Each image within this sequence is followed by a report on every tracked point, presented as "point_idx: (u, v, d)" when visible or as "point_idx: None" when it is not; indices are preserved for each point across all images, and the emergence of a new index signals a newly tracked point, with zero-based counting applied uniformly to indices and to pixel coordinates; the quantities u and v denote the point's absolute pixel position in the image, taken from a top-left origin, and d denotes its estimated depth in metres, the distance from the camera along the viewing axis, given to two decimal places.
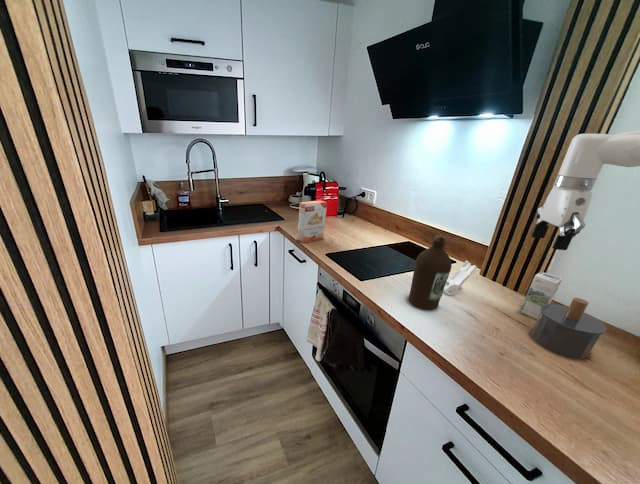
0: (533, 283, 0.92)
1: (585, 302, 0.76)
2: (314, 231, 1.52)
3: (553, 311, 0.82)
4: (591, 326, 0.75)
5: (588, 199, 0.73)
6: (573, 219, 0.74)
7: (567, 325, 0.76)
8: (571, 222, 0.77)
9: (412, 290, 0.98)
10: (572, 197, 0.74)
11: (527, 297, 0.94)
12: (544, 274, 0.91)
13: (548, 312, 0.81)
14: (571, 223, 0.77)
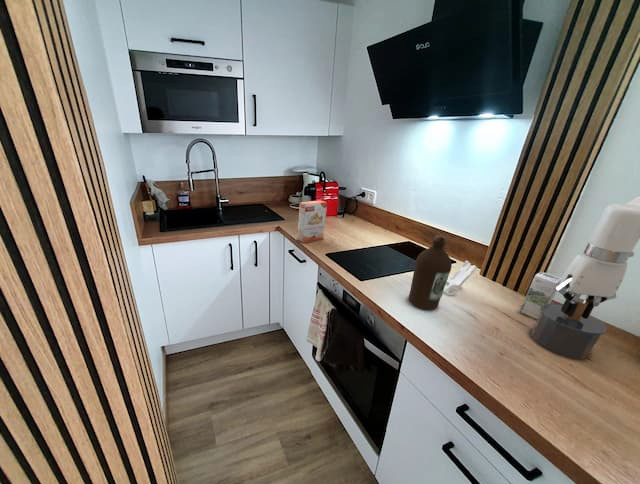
0: (533, 283, 0.92)
1: (585, 302, 0.76)
2: (314, 231, 1.52)
3: (553, 311, 0.82)
4: (591, 326, 0.75)
5: None
6: None
7: (567, 325, 0.76)
8: None
9: (412, 290, 0.98)
10: None
11: (527, 297, 0.94)
12: (544, 274, 0.91)
13: (548, 312, 0.81)
14: None
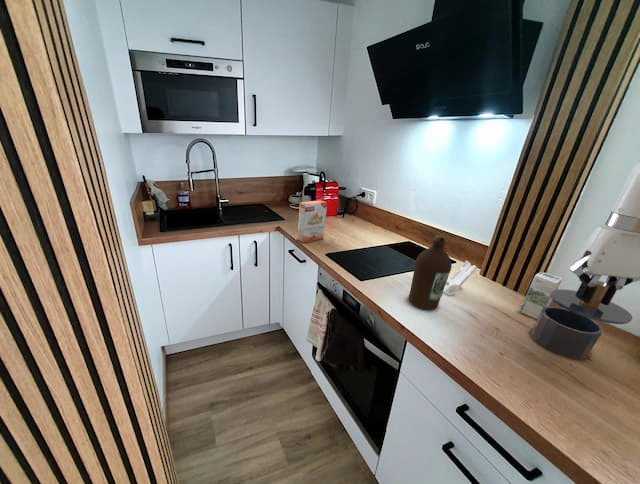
0: (533, 283, 0.92)
1: (606, 285, 0.63)
2: (314, 231, 1.52)
3: (566, 297, 0.68)
4: (613, 314, 0.62)
5: None
6: None
7: (584, 312, 0.62)
8: None
9: (412, 290, 0.98)
10: None
11: (527, 297, 0.94)
12: (544, 274, 0.91)
13: (560, 298, 0.68)
14: None
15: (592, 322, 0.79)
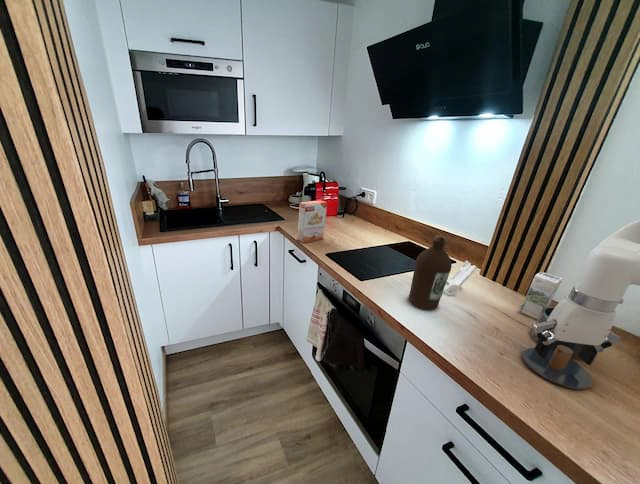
0: (533, 283, 0.92)
1: (570, 351, 0.70)
2: (314, 231, 1.52)
3: (536, 357, 0.75)
4: (576, 378, 0.69)
5: None
6: (608, 334, 0.67)
7: (550, 377, 0.69)
8: None
9: (412, 290, 0.98)
10: None
11: (527, 297, 0.94)
12: (544, 274, 0.91)
13: (531, 359, 0.75)
14: None
15: None
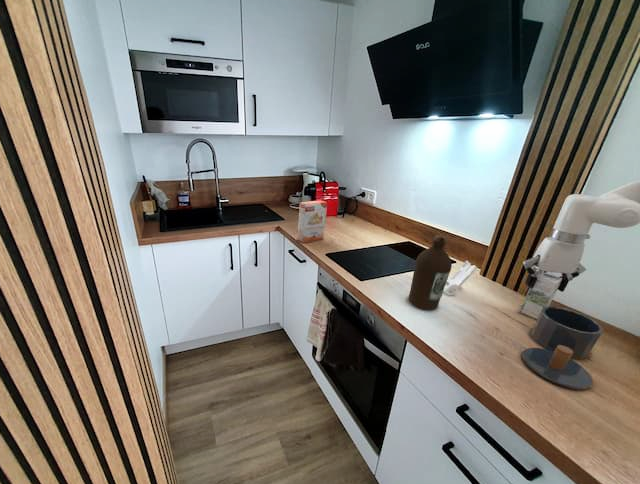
0: None
1: (570, 351, 0.70)
2: (314, 231, 1.52)
3: (536, 357, 0.75)
4: (576, 378, 0.69)
5: None
6: (578, 266, 0.87)
7: (550, 377, 0.69)
8: None
9: (412, 290, 0.98)
10: (583, 249, 0.84)
11: (527, 297, 0.94)
12: (544, 274, 0.91)
13: (531, 359, 0.75)
14: None
15: (592, 322, 0.79)
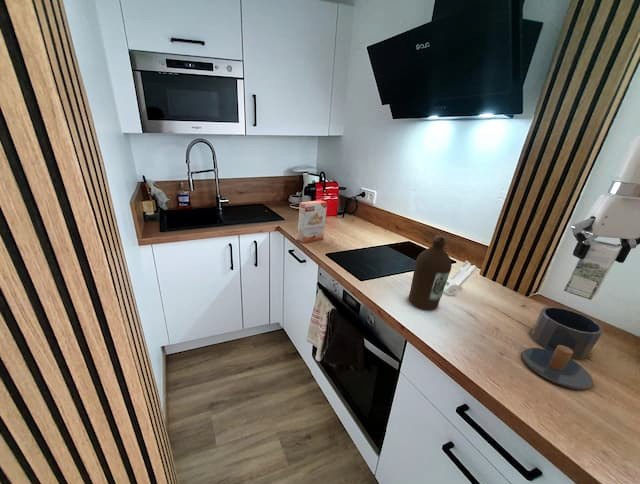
0: None
1: (570, 351, 0.70)
2: (314, 231, 1.52)
3: (536, 357, 0.75)
4: (576, 378, 0.69)
5: None
6: None
7: (550, 377, 0.69)
8: None
9: (412, 290, 0.98)
10: None
11: (575, 271, 0.76)
12: (598, 242, 0.73)
13: (531, 359, 0.75)
14: None
15: (592, 322, 0.79)
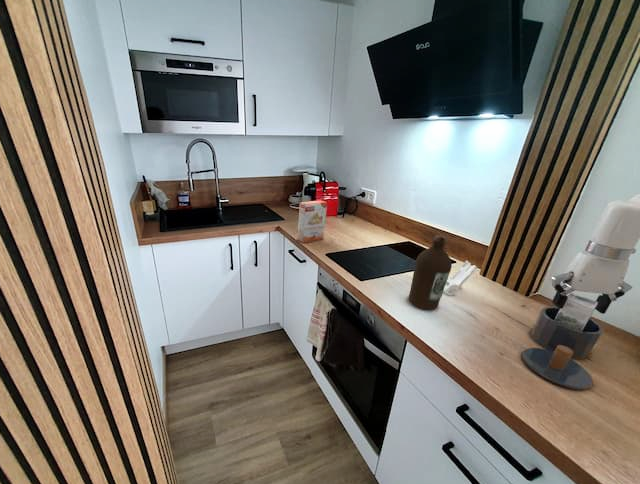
0: (563, 307, 0.78)
1: (570, 351, 0.70)
2: (314, 231, 1.52)
3: (536, 357, 0.75)
4: (576, 378, 0.69)
5: None
6: (621, 283, 0.73)
7: (550, 377, 0.69)
8: None
9: (412, 290, 0.98)
10: None
11: None
12: (576, 297, 0.78)
13: (531, 359, 0.75)
14: None
15: (592, 322, 0.79)
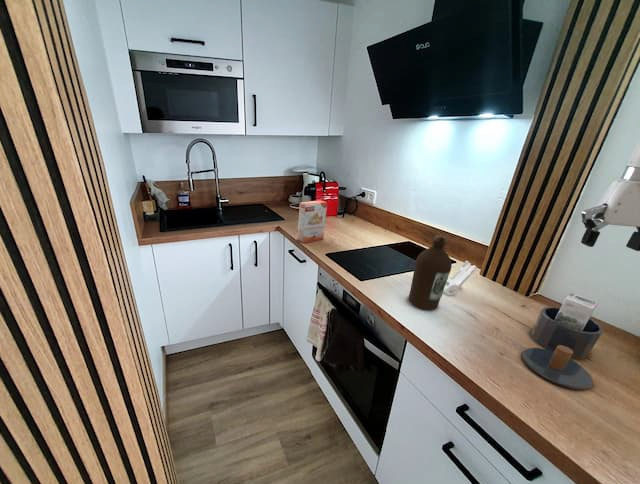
0: (563, 307, 0.78)
1: (570, 351, 0.70)
2: (314, 231, 1.52)
3: (536, 357, 0.75)
4: (576, 378, 0.69)
5: None
6: None
7: (550, 377, 0.69)
8: None
9: (412, 290, 0.98)
10: None
11: None
12: (576, 297, 0.78)
13: (531, 359, 0.75)
14: None
15: (592, 322, 0.79)
